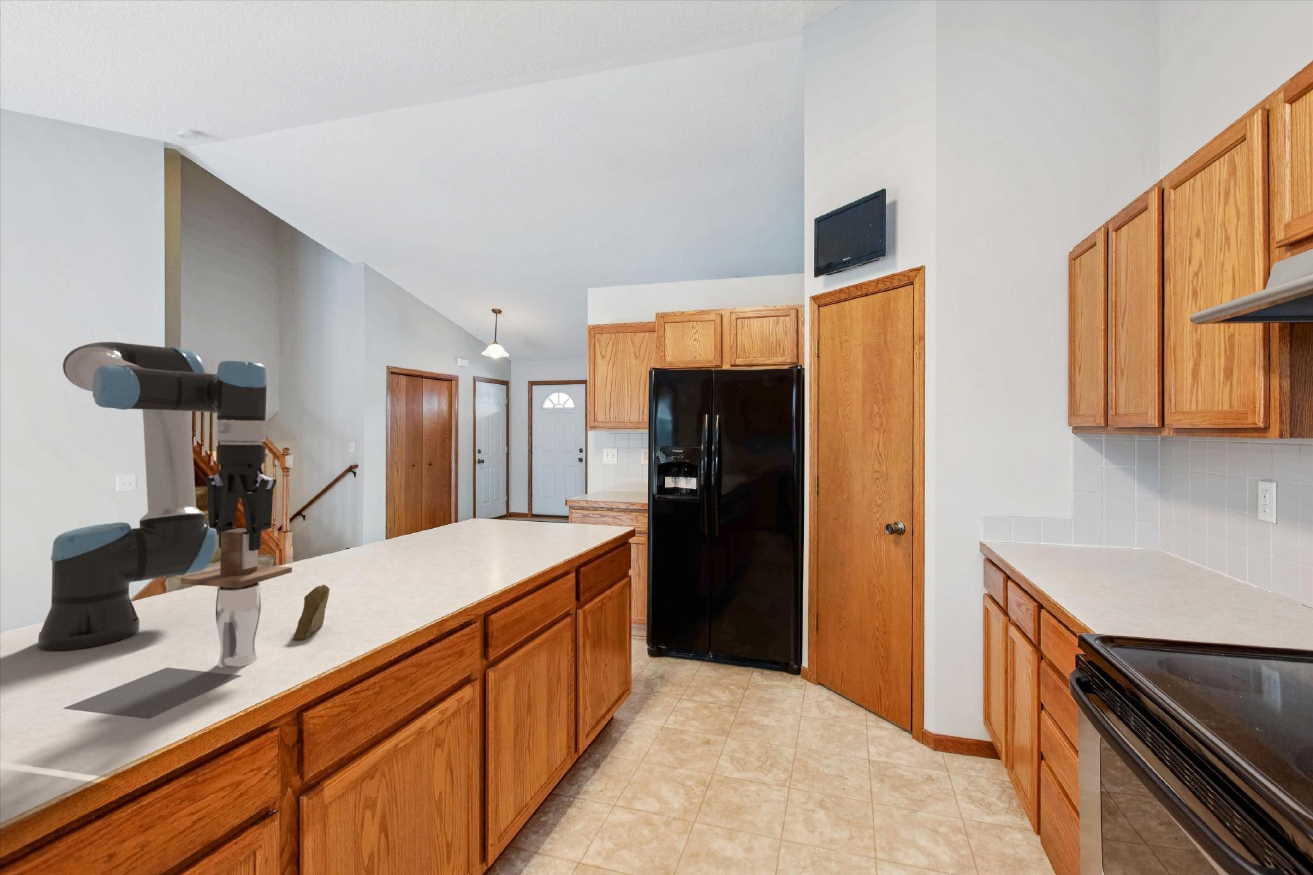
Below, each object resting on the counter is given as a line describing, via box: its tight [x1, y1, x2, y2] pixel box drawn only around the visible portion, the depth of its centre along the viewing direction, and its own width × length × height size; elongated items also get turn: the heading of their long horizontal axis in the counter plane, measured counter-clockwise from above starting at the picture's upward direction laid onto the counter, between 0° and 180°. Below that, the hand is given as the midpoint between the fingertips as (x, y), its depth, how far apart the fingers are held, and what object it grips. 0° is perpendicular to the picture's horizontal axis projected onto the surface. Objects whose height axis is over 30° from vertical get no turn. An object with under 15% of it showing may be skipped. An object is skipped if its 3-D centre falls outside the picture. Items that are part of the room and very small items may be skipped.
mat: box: [64, 667, 242, 720], centre depth 96 cm, size 16×16×1 cm
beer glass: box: [215, 582, 262, 669], centre depth 109 cm, size 7×7×15 cm
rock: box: [292, 584, 330, 640], centre depth 127 cm, size 11×9×10 cm
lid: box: [180, 527, 293, 588], centre depth 109 cm, size 12×12×9 cm
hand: (239, 566), depth 109 cm, fingers closed on lid, 4 cm apart
